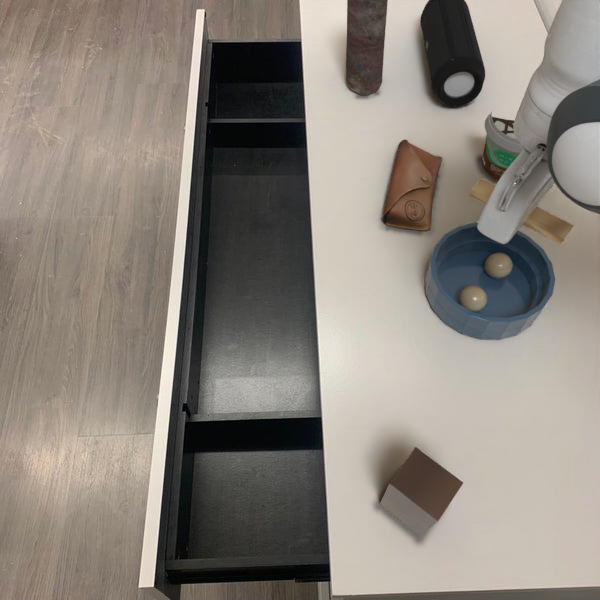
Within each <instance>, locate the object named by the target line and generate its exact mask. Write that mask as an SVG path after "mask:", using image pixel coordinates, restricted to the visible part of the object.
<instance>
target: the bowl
mask: <svg viewBox="0 0 600 600" xmlns="http://www.w3.org/2000/svg"><path fill="white" fill-rule="evenodd" d="M478 222H479V221H478ZM478 222H477V221H476V222H472V223H467V224H463V225H459V226H457V227H455V228H454V229H452V230H450V231H448V232H446V233H445V234H444V235H443V236H442V237H441V238H440V239H439V241H438V242H437V243H436V244H435V246H434V248H433V251H432V254H431V257H430V261H429V264H428V268H427V271H426V274H425V278H424V286H425V287H424V288H425V296H426V298H427V300H428V303H429V305H430V307H431V309H432V311H433V312H434V313H435V314H436V315H437V316H438V317H439V319H441V321H442V322H443V323H444V324H445V325H447V326H448V327H450V328H452V329H453V330H455V331H457V332H458V333H459V334H463V335H465V336H469V337H473V338H475V339H477V340H491V341H492V340H493V341H500V340H504V339H508V338H512V337H516V336H518V335H520V334H521V333H523V332H524V331H526V330H527V329H529V328H531V326H532V325H533V323H534V322H535V321H536V319H537V318H538V317H539V315H540V314H541V312H543V309H544V308H545V307H546V305H547V304H548V302H549V301H550V299H551V298H552V296H553V294H554V289H555V284H556V275H555V271H554V267H553V262H552V261H551V259H550V258H549V256H548V254H547V253H546V251H545V249H544V248H543V247H542V246H541V245H539V244H538V243H537V242H536V241H535V240H534V239H533V238H532V237H531V236H529V235H528V234H526V233H523V232H522V231H520V230H518V231H517V232H516V234H515V235H514V236H513V237H512V239H511V240H510V241H509V242H508V243H506V244H502V243H499V242H496V241H494V240H492V239H490V238H489V237H487V236H485V235H484V234H482V233H481V232H480V231H479V230H478V228H477V224H478ZM494 253H504V254H506V255H508V256H509V257H510V259H511V260H512V264H513V267H512V270H511V272H510V274H509V275H508V276H506V277H504V278H501V279H496V278H492V277H491V276H489V275H488V274H487V272H486V270H485V262H486V260H487V258H488V257H489V256H490V255H492V254H494ZM471 285H475V286H479V287H481V288H482V289H483V290H484V291H485V292H486V295H487V303H486V305H485V307H484V308H483V309H482V310H480V311H478V312H471V311H469V310H468V309H466V308H465V307H463V306H461V305H460V303H459V295H460V293H461V291H462V290H463V289H464V288H465V287H467V286H471Z"/></svg>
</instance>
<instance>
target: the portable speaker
mask: <svg viewBox="0 0 600 600" xmlns="http://www.w3.org/2000/svg"><path fill="white" fill-rule="evenodd" d="M419 24H420V29H421V33H422V39H423V46H424V50H425V56H426V61H427V67H428V72H429V77H430V84H431V90H432V93H433V95H434V96H435V97H436V98H437V99H438V100H439V101H440V103H442V104H443V105H445V106H447V107H454V108H456V107H457V108H459V107H463V106H466V105H468V104H470V103H471V102H473V101H474V100H475V99H477V98H478V96H479V95H480V93H481V92H482V89H483V86H484V83H485V80H486V68H485V64H484V61H483V56H482V53H481V48H480V46H479V42H478V39H477V34H476V30H475V26H474V23H473V20H472V16H471V12H470V8H469V5H468V4H467V2H466V0H428V1H427V2H426V4H425V5H424V7H423V9H422V12H421V15H420V19H419Z"/></svg>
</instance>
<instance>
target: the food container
mask: <svg viewBox="0 0 600 600" xmlns="http://www.w3.org/2000/svg"><path fill="white" fill-rule="evenodd" d="M492 114H493V111H491V112H490V114H488V115H487V117H486V118H485V120H484V129H485V132H486V135H485V141H484V145H483V151H482V156H481V165H482V168H483V170H484V171H485V173H486V174H487V175H488V176H489V177H491V178H492V179H494V180H495V181H497V182H498V181H499V179H500V178H501V176H502V175H503V173H504V172H505V171H506V170H507V168H508V167H509V166H510V165H511V164H512V163H513V161H514V160H515V159H516V158H517V157H518V155H519V154H520V153H521V152H522V151H523V149H522V146H521V144H520V143H519V142H518V140H517V138H516V137H515V134H514V129H513V125H514V120H515V119H505V118H500V117H495V116H493V115H492Z"/></svg>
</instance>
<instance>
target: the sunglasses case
mask: <svg viewBox="0 0 600 600" xmlns="http://www.w3.org/2000/svg"><path fill="white" fill-rule="evenodd" d="M396 149H397V150H396V154H395V158H394V161H393V165H392V171H391V176H390V179H389V183H388V189H387V193H386V197H385V202H384V207H383V212H382V222H383V224H385V225H386V226H387V227H391V228H397V229H402V230H410V231H419V232H427V231H430V229H431V225H432V213H433V212H432V211H433V204H434V197H435V192H436V187H437V186H436V185H437V181H438V176H439V171H440V168H441V165H442V161H443V157H442V156H436V155H434V154H433V153H430V152H429V151H426V150H425V149H422V148H421V147H418V146H417V145H414V144H412V143H411V142H409V140H408V139H402V140H401V141H400V142H399V143H398V145H397V148H396Z"/></svg>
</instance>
